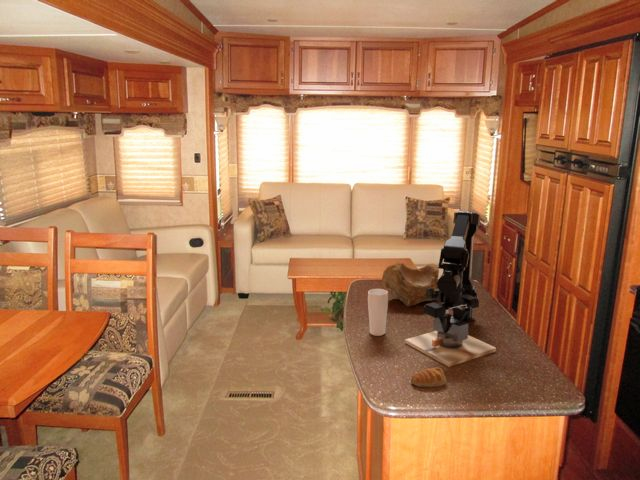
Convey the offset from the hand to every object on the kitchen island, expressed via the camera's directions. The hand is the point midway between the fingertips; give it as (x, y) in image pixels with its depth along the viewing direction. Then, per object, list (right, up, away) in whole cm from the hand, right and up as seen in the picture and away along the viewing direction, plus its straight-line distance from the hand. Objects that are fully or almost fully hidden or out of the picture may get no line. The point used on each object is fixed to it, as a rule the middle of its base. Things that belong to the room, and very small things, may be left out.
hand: (450, 331), depth 168 cm
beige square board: (0, -5, +1) cm, 6 cm away
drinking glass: (-22, -3, +12) cm, 25 cm away
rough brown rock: (-4, +4, +43) cm, 43 cm away
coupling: (-1, -4, 0) cm, 4 cm away
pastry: (-11, -11, -21) cm, 26 cm away
